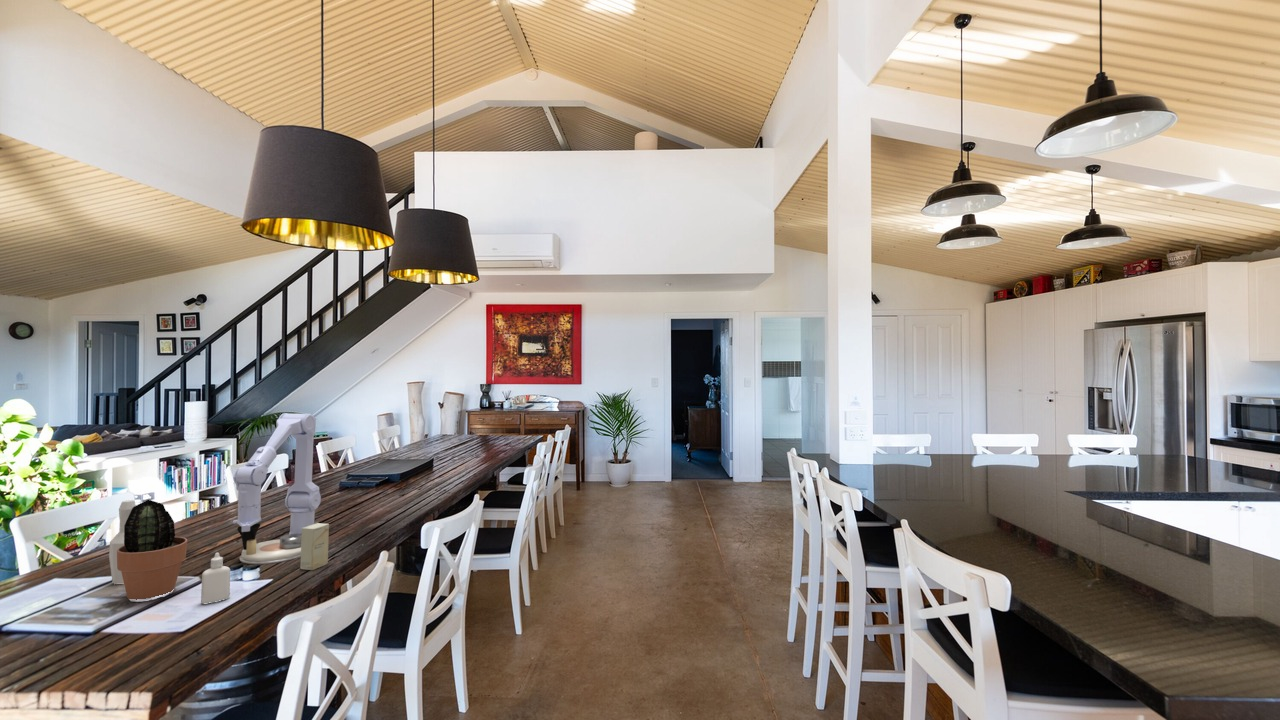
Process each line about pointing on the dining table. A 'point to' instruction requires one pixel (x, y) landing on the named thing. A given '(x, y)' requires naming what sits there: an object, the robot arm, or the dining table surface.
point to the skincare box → (314, 546)
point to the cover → (290, 541)
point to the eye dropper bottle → (215, 581)
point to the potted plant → (150, 552)
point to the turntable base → (268, 561)
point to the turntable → (267, 551)
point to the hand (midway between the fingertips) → (248, 548)
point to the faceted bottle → (119, 540)
